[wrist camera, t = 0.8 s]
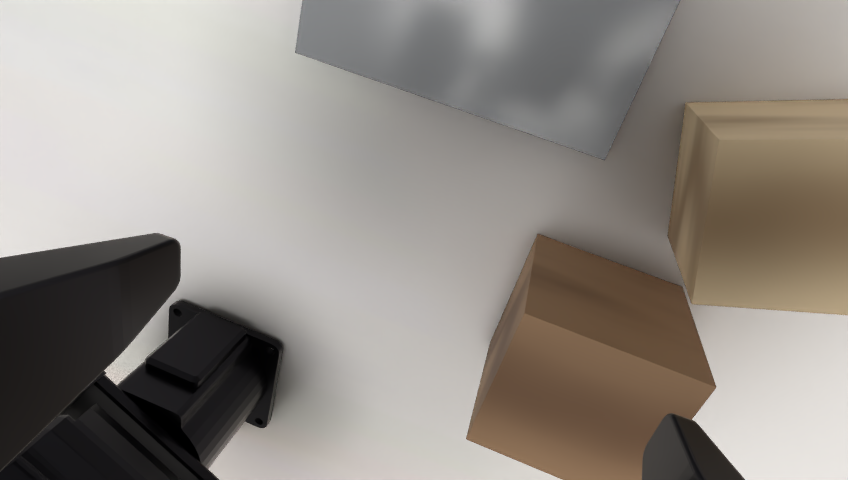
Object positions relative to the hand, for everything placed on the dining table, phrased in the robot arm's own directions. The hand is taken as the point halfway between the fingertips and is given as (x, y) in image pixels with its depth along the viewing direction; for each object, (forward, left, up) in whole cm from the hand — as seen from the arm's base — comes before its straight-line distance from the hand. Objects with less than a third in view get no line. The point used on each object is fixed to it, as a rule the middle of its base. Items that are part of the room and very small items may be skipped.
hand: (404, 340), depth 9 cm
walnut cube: (-6, -6, -13) cm, 15 cm away
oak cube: (+2, -9, -13) cm, 15 cm away
